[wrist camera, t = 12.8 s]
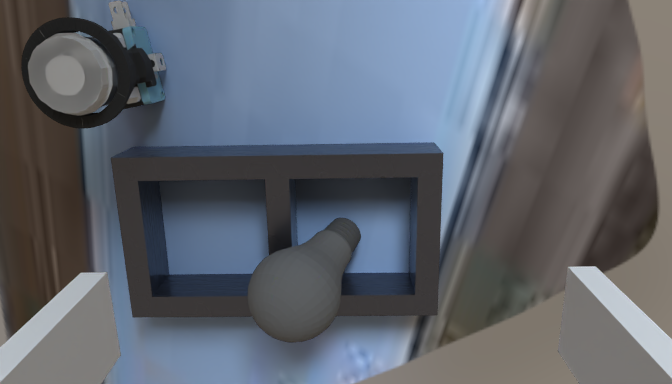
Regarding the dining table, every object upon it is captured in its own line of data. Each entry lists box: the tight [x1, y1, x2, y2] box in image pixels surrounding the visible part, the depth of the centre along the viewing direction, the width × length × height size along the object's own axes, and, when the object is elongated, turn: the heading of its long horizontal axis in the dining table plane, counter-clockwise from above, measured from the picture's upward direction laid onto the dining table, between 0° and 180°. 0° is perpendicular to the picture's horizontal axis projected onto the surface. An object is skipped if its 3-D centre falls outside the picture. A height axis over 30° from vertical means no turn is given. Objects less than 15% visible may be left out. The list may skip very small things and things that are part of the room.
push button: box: [22, 1, 166, 128], centre depth 30 cm, size 7×5×10 cm
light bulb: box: [248, 218, 361, 342], centre depth 33 cm, size 6×6×10 cm
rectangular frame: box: [111, 143, 443, 317], centre depth 36 cm, size 11×20×4 cm, turn 91°
